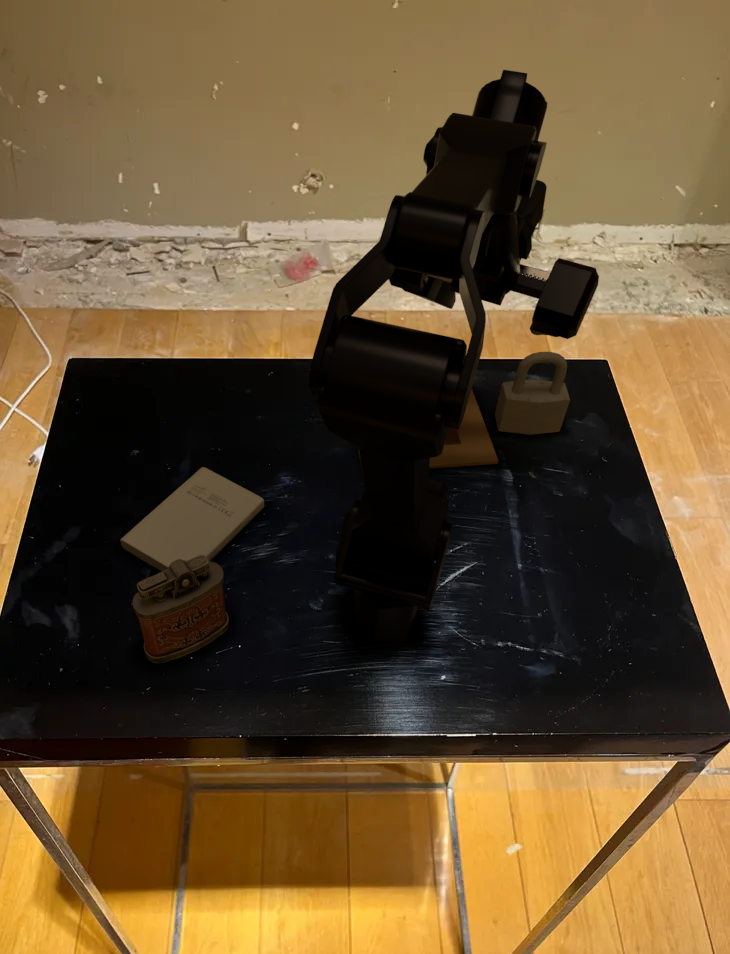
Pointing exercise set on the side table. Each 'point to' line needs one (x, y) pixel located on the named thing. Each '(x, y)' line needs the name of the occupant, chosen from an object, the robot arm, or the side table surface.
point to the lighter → (181, 608)
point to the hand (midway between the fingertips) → (494, 317)
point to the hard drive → (193, 521)
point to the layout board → (467, 442)
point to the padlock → (533, 399)
